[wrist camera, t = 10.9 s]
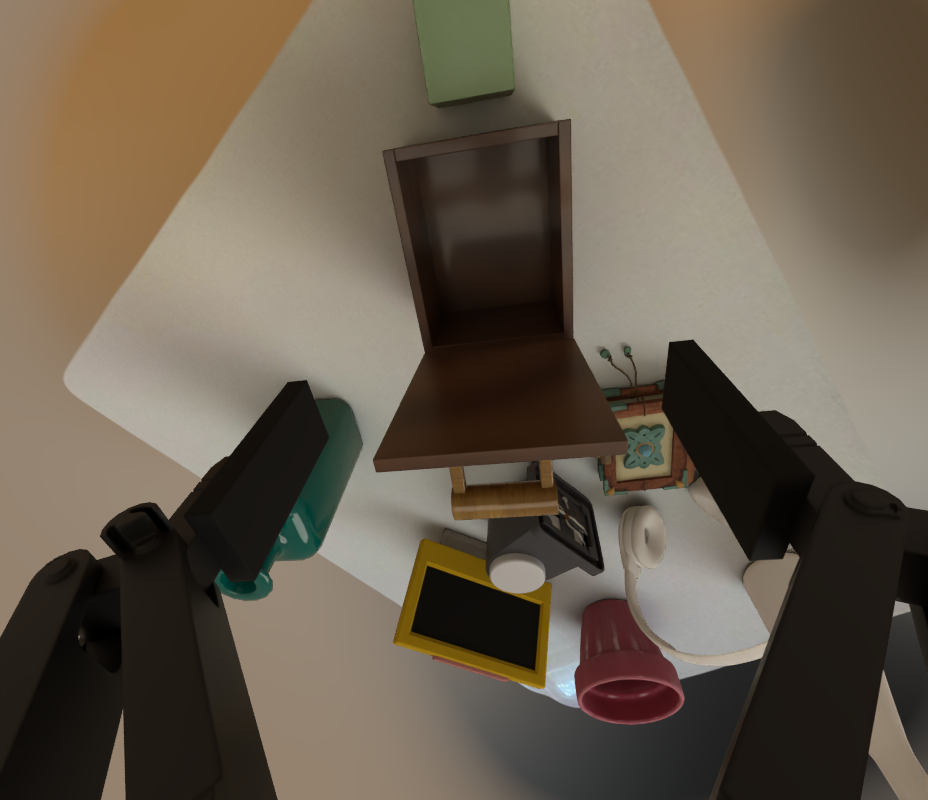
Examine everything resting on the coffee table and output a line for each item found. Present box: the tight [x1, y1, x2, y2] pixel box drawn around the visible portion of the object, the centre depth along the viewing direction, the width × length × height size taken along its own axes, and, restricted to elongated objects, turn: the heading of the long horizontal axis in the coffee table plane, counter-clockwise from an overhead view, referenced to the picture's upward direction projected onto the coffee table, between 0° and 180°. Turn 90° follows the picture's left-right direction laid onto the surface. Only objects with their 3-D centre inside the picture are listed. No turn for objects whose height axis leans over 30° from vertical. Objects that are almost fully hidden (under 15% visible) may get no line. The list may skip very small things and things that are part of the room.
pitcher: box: [214, 399, 363, 601], centre depth 44 cm, size 10×8×22 cm
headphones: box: [619, 477, 768, 666], centre depth 48 cm, size 7×18×20 cm, turn 129°
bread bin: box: [383, 119, 573, 354], centre depth 36 cm, size 16×13×9 cm
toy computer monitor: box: [393, 529, 552, 689], centre depth 58 cm, size 20×8×16 cm, turn 65°
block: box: [413, 0, 515, 108], centre depth 31 cm, size 6×6×6 cm
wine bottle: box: [743, 553, 928, 800], centre depth 50 cm, size 10×10×30 cm
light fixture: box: [486, 461, 604, 593], centre depth 54 cm, size 11×13×11 cm
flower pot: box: [574, 599, 684, 724], centre depth 65 cm, size 14×14×13 cm
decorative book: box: [597, 347, 695, 496], centre depth 48 cm, size 13×18×5 cm
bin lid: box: [373, 339, 628, 520], centre depth 30 cm, size 16×13×6 cm
